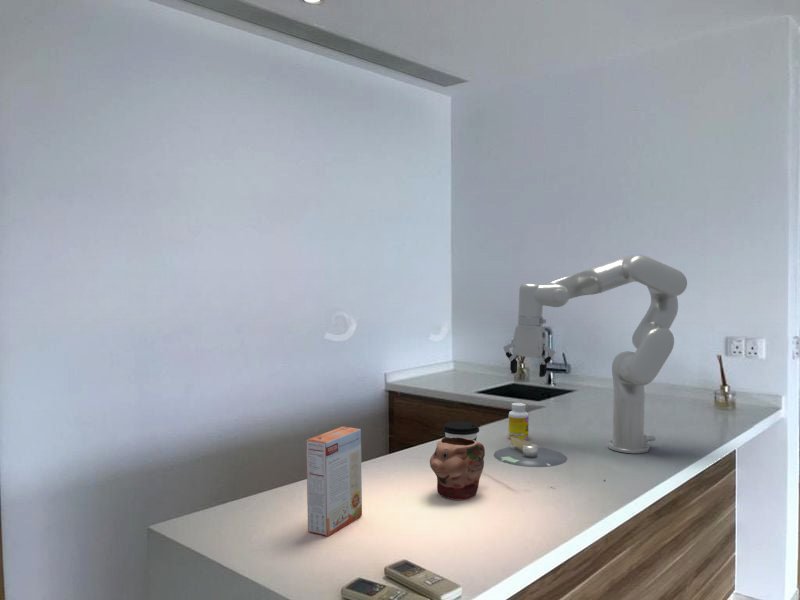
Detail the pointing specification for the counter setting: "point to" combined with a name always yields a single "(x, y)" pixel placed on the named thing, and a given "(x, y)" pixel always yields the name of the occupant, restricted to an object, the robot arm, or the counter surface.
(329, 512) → the cracker box
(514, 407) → the supplement bottle
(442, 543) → the counter surface
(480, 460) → the decorative planter
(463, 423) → the coffee cup
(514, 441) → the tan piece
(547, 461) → the dial
